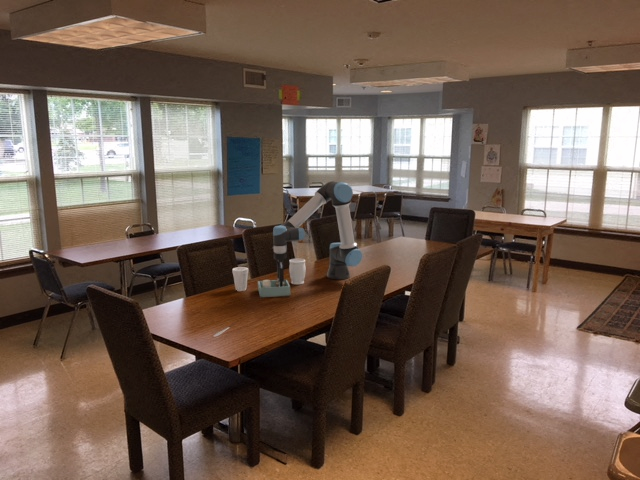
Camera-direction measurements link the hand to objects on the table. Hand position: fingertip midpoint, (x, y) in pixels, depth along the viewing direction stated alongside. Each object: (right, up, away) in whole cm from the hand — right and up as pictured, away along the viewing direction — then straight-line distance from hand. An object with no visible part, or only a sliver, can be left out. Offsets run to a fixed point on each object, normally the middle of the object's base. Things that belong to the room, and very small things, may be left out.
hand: (280, 290), depth 303 cm
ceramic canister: (-8, -1, -1) cm, 8 cm away
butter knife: (-21, -13, -57) cm, 62 cm away
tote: (-4, -1, -1) cm, 4 cm away
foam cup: (-25, 0, +6) cm, 25 cm away
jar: (+9, +2, +21) cm, 23 cm away
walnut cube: (0, 0, 0) cm, 0 cm away
